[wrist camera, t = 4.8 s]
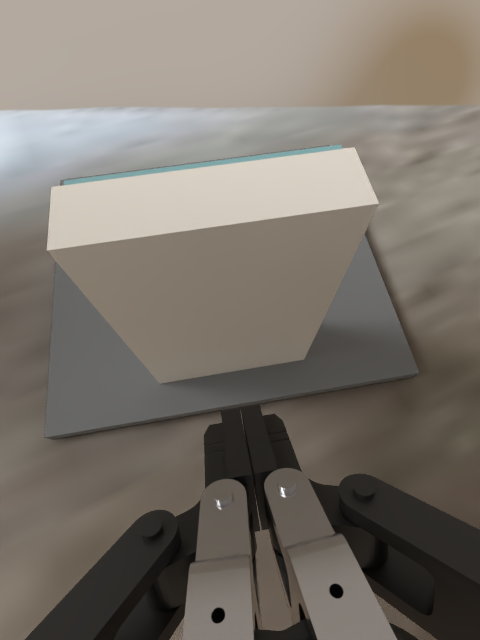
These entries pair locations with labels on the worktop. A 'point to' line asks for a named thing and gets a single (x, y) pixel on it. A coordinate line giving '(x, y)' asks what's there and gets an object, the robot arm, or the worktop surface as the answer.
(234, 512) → the robot arm
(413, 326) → the worktop surface
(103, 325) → the mat
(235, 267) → the tile
